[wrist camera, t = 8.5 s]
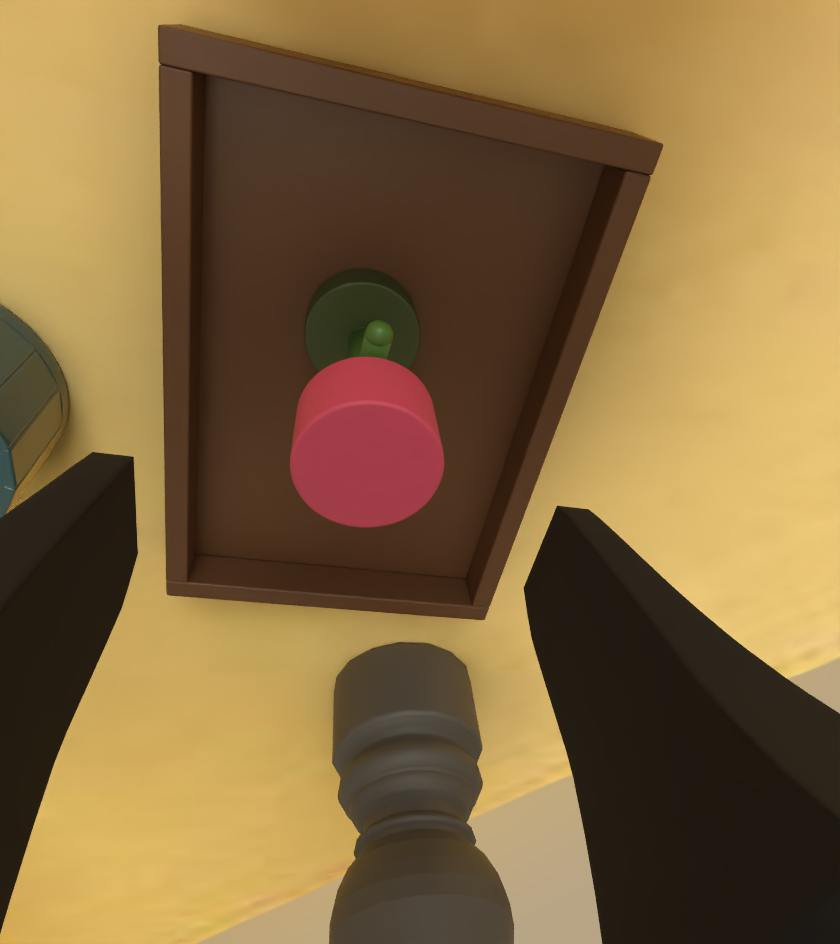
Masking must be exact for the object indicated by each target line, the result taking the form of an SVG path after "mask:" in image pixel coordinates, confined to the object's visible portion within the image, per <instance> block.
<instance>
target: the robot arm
mask: <svg viewBox="0 0 840 944" xmlns="http://www.w3.org/2000/svg"><path fill="white" fill-rule="evenodd" d="M137 554H138V549H137V526H136V503H135V480H134V457H130V456H121V455H113V454H104V453H95V452H92V453H91V454H89V455H88V456H86V457H85V458H84V459H82V460H81V461H79V462H78V463H76V464H75V465H74V466H72V467H71V468H69V469H68V470H67V471H65V472H64V473H63V474H61V475H60V476H59V477H57V478H56V479H54V480H53V481H52V482H50V483H49V484H48V485H46V486H45V487H43V488H42V489H41V490H39V491H38V492H37V493H35V494H34V495H32V496H31V497H30V498H28V499H27V500H26V501H24V502H23V503H21V504H20V505H18V506H17V507H15V508H14V509H13V510H11V511H10V512H8V513H7V514H5V515H4V516H3V517H1V518H0V933H1V929H2V926H3V922H4V919H5V916H6V912H7V909H8V905H9V902H10V899H11V895H12V892H13V889H14V886H15V883H16V880H17V876H18V873H19V870H20V867H21V864H22V860H23V857H24V854H25V851H26V848H27V844H28V841H29V838H30V835H31V832H32V829H33V825H34V822H35V819H36V816H37V813H38V810H39V807H40V804H41V801H42V798H43V795H44V792H45V789H46V786H47V783H48V780H49V777H50V774H51V771H52V768H53V765H54V762H55V760H56V757H57V755H58V752H59V750H60V747H61V745H62V742H63V740H64V737H65V735H66V732H67V730H68V728H69V725H70V723H71V721H72V719H73V716H74V714H75V712H76V710H77V708H78V705H79V703H80V701H81V699H82V696H83V694H84V692H85V690H86V687H87V685H88V683H89V681H90V679H91V676H92V674H93V672H94V670H95V667H96V665H97V663H98V661H99V659H100V656H101V654H102V652H103V650H104V647H105V645H106V643H107V641H108V638H109V636H110V634H111V631H112V629H113V627H114V625H115V622H116V620H117V618H118V615H119V613H120V611H121V608H122V605H123V602H124V599H125V596H126V592H127V589H128V586H129V582H130V579H131V575H132V572H133V568H134V565H135V561H136V558H137ZM524 593H525V600H526V607H527V614H528V620H529V625H530V631H531V637H532V641H533V644H534V648H535V651H536V654H537V658H538V661H539V664H540V668H541V671H542V674H543V678H544V681H545V684H546V687H547V691H548V694H549V697H550V700H551V703H552V707H553V710H554V713H555V716H556V719H557V723H558V726H559V729H560V732H561V736H562V739H563V742H564V745H565V748H566V752H567V755H568V759H569V763H570V767H571V770H572V774H573V778H574V783H575V788H576V793H577V798H578V803H579V808H580V813H581V818H582V823H583V828H584V833H585V838H586V844H587V850H588V855H589V861H590V867H591V873H592V878H593V884H594V890H595V896H596V903H597V909H598V916H599V923H600V930H601V937H602V944H840V714H839V713H838V712H836V711H835V710H833V709H832V708H830V707H829V706H827V705H825V704H824V703H822V702H821V701H819V700H818V699H816V698H815V697H813V696H811V695H810V694H808V693H807V692H805V691H804V690H803V689H801V688H800V687H798V686H797V685H795V684H794V683H792V682H791V681H789V680H788V679H787V678H785V677H784V676H782V675H781V674H780V673H778V672H777V671H776V670H774V669H773V668H771V667H770V666H769V665H767V664H766V663H765V662H763V661H762V660H761V659H759V658H758V657H757V656H755V655H754V654H753V653H751V652H750V651H748V650H747V649H746V648H744V647H743V646H742V645H741V644H739V643H738V642H737V641H736V640H734V639H733V638H732V637H731V636H729V635H728V634H727V633H726V632H724V631H723V630H722V629H721V628H720V627H718V626H717V625H716V624H715V623H714V622H713V621H711V620H710V619H709V618H708V617H707V616H705V615H704V614H703V613H702V612H701V611H700V610H698V609H697V608H696V607H695V606H694V605H693V604H691V603H690V602H689V601H688V600H687V599H686V598H685V597H684V596H682V595H681V594H680V593H679V592H678V591H677V590H676V589H675V588H674V587H672V586H671V585H670V584H669V583H668V582H667V581H666V580H665V579H664V578H663V577H662V576H661V575H660V574H658V573H657V572H656V571H655V570H654V569H653V568H652V567H651V566H650V565H649V564H648V563H647V562H646V561H645V560H644V559H642V558H641V557H640V556H639V555H638V554H637V553H636V552H635V551H634V550H633V549H632V548H631V547H630V546H629V545H628V544H627V543H626V542H625V541H624V540H622V539H621V538H620V537H619V536H618V535H617V534H616V533H615V532H614V531H613V530H612V529H611V528H610V527H609V526H607V525H606V524H605V523H604V522H603V521H602V520H601V519H600V518H598V517H597V516H596V515H595V514H594V513H592V512H591V511H590V510H589V509H580V508H571V507H563V506H557V508H556V510H555V512H554V515H553V517H552V520H551V522H550V525H549V527H548V530H547V532H546V535H545V537H544V539H543V542H542V544H541V547H540V549H539V552H538V554H537V557H536V559H535V562H534V564H533V566H532V569H531V571H530V574H529V576H528V579H527V581H526V584H525V586H524Z"/></svg>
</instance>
